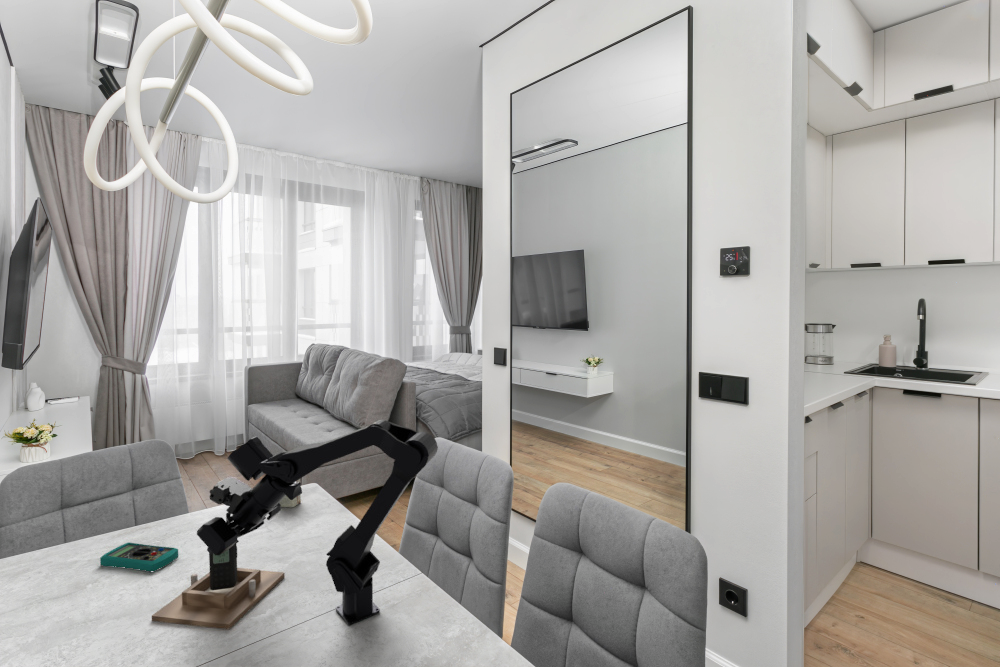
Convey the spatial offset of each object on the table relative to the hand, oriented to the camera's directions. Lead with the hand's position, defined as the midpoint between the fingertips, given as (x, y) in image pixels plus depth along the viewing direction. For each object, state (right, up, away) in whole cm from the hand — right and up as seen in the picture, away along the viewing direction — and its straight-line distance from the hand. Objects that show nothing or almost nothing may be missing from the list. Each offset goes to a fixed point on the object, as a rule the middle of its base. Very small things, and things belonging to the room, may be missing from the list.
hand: (217, 546), depth 101 cm
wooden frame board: (+1, -11, 0) cm, 11 cm away
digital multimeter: (-26, -10, +14) cm, 31 cm away
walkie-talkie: (+1, -8, 0) cm, 9 cm away
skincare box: (-6, -8, +48) cm, 49 cm away
